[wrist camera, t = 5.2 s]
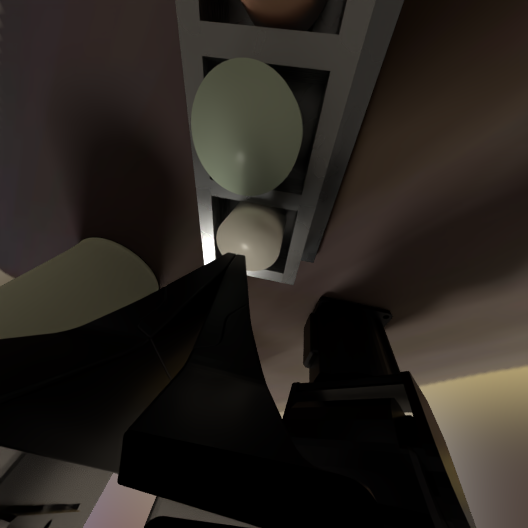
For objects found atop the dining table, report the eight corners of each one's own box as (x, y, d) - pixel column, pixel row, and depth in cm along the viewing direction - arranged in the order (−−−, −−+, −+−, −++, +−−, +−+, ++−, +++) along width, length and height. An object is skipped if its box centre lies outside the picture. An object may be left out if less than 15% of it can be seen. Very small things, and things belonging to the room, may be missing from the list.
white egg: (290, 198, 12) (285, 221, 9) (281, 246, 14) (274, 276, 11) (235, 188, 12) (214, 208, 9) (235, 237, 14) (217, 264, 12)
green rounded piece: (312, 86, 8) (315, 65, 5) (294, 180, 10) (288, 203, 7) (226, 75, 8) (183, 50, 5) (227, 169, 10) (197, 187, 7)
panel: (458, -172, 6) (625, -500, 3) (313, 257, 15) (314, 289, 12) (172, -176, 6) (54, -435, 3) (207, 236, 16) (185, 262, 13)
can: (60, 232, 19) (-181, 339, 10) (141, 242, 18) (-47, 375, 8) (105, 295, 25) (-20, 401, 15) (169, 305, 23) (75, 429, 14)
